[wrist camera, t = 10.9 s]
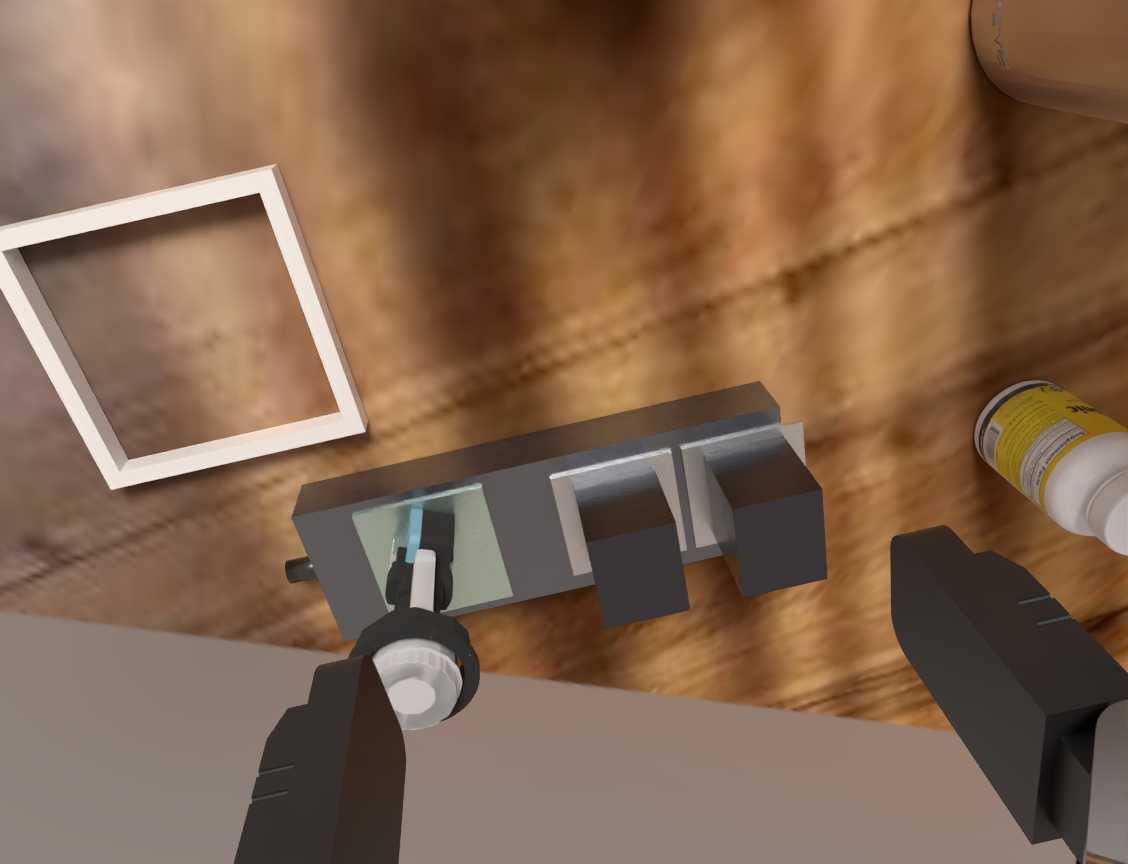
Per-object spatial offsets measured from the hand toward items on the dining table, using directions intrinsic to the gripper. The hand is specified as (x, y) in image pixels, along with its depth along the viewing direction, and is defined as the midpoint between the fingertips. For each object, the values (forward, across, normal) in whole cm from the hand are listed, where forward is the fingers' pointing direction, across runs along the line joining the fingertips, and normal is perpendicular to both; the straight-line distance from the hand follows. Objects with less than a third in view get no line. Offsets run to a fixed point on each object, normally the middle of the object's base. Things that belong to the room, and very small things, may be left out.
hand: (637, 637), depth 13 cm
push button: (+25, +9, +15) cm, 30 cm away
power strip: (+28, +2, +15) cm, 32 cm away
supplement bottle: (+28, -24, +17) cm, 41 cm away
